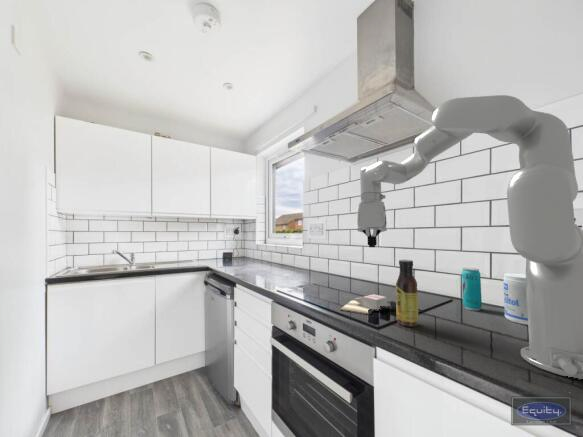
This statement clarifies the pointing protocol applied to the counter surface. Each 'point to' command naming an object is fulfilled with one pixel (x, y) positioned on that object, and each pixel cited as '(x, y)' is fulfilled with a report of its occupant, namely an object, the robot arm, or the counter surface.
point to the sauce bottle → (406, 295)
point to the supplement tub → (515, 298)
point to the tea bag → (372, 301)
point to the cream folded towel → (355, 307)
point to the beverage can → (471, 289)
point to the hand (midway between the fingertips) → (372, 247)
